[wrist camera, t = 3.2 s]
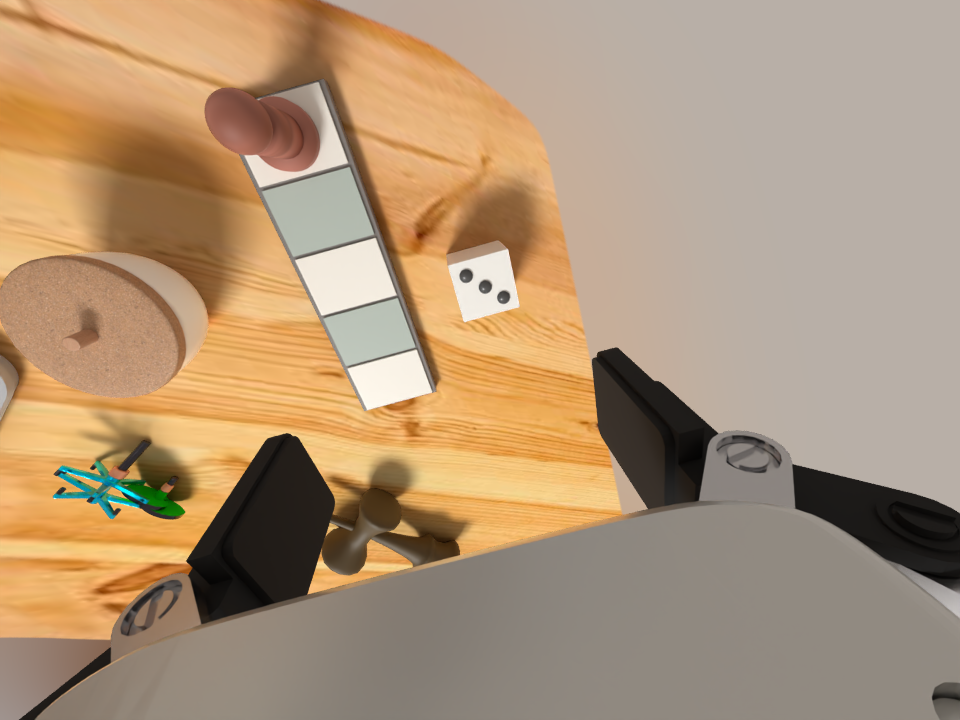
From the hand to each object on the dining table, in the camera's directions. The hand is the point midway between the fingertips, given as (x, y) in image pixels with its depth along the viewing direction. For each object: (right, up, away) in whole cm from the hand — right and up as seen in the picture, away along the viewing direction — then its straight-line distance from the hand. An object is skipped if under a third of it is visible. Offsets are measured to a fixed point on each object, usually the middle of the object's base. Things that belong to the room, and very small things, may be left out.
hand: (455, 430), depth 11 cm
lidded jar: (-28, +7, +21) cm, 36 cm away
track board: (-11, +10, +22) cm, 26 cm away
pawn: (-14, +19, +16) cm, 28 cm away
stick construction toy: (-36, -10, +29) cm, 47 cm away
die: (+1, +10, +23) cm, 25 cm away
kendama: (-11, -19, +37) cm, 43 cm away
